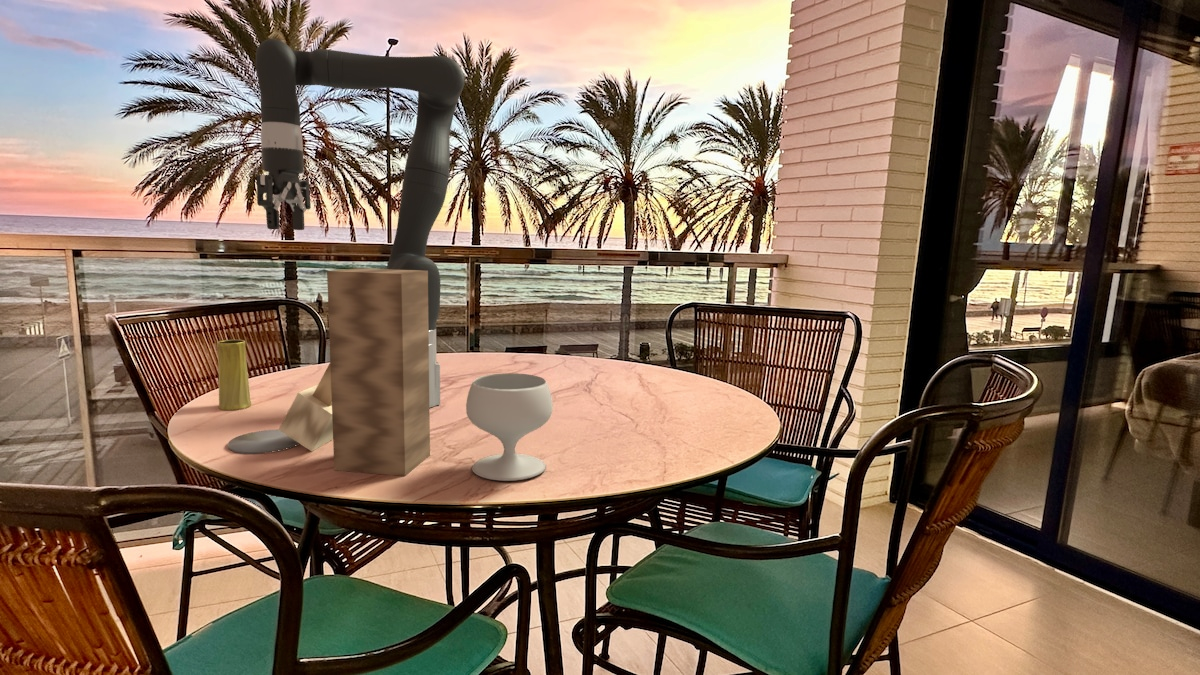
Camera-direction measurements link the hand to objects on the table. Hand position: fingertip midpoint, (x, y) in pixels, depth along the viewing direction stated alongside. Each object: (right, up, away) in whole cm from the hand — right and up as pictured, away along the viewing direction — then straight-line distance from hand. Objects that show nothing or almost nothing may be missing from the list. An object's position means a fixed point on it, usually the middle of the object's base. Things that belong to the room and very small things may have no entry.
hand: (286, 229), depth 131 cm
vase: (-14, -37, +6) cm, 40 cm away
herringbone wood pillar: (+28, -43, -24) cm, 57 cm away
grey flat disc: (+4, -41, -16) cm, 44 cm away
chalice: (+50, -44, -26) cm, 71 cm away
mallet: (+14, -30, -18) cm, 37 cm away
